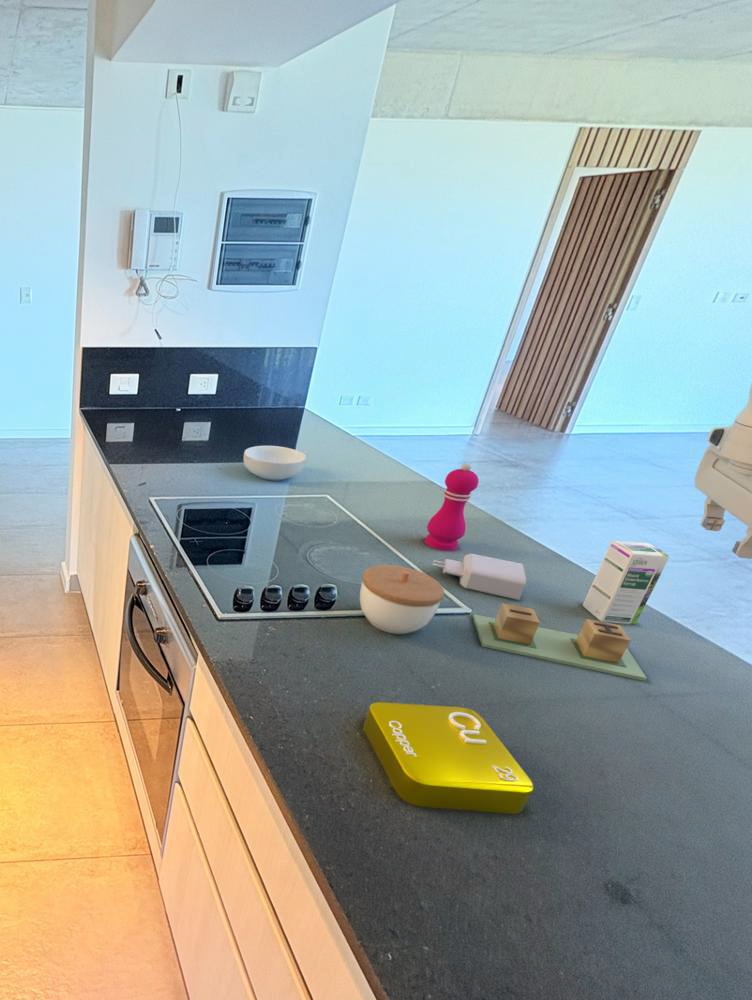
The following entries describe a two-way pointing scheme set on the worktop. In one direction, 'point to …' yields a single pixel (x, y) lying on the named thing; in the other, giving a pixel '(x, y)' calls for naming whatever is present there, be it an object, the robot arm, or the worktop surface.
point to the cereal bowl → (274, 462)
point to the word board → (556, 649)
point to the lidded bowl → (399, 598)
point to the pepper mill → (452, 510)
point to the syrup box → (625, 581)
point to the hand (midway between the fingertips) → (725, 541)
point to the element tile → (446, 758)
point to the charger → (488, 575)
